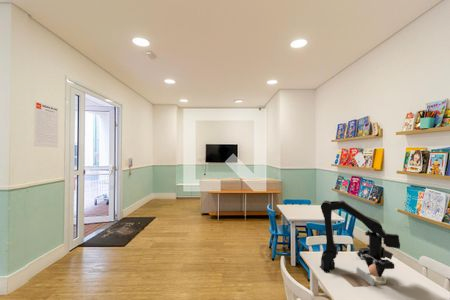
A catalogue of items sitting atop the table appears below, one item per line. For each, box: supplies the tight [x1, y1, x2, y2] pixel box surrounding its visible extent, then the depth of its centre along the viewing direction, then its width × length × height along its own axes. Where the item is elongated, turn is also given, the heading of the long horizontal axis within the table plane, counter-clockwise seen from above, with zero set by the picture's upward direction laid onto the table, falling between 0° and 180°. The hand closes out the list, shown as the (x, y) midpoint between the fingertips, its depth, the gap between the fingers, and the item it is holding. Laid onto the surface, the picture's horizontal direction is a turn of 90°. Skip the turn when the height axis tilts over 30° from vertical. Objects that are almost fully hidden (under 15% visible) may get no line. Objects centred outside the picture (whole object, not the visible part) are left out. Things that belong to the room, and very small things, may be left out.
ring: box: [366, 271, 387, 284], centre depth 121 cm, size 9×9×1 cm
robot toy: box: [354, 250, 378, 264], centre depth 143 cm, size 12×4×15 cm
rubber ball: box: [368, 264, 379, 277], centre depth 121 cm, size 6×6×6 cm
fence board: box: [339, 266, 395, 288], centre depth 120 cm, size 22×12×4 cm, turn 95°
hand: (375, 273), depth 121 cm, fingers closed on rubber ball, 6 cm apart
